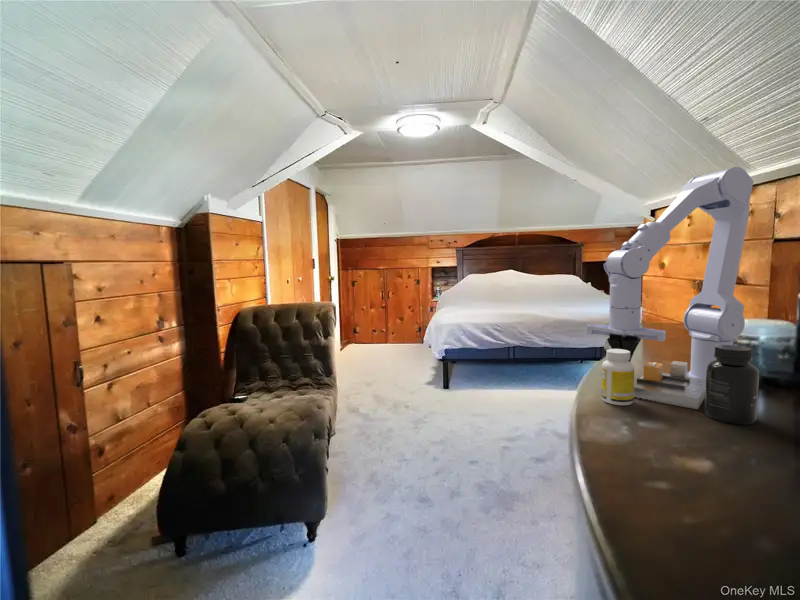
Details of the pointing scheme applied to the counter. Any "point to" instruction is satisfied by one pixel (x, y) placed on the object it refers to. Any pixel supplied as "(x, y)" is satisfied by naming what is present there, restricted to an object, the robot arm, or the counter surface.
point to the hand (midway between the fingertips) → (623, 370)
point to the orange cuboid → (653, 371)
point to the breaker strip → (673, 387)
